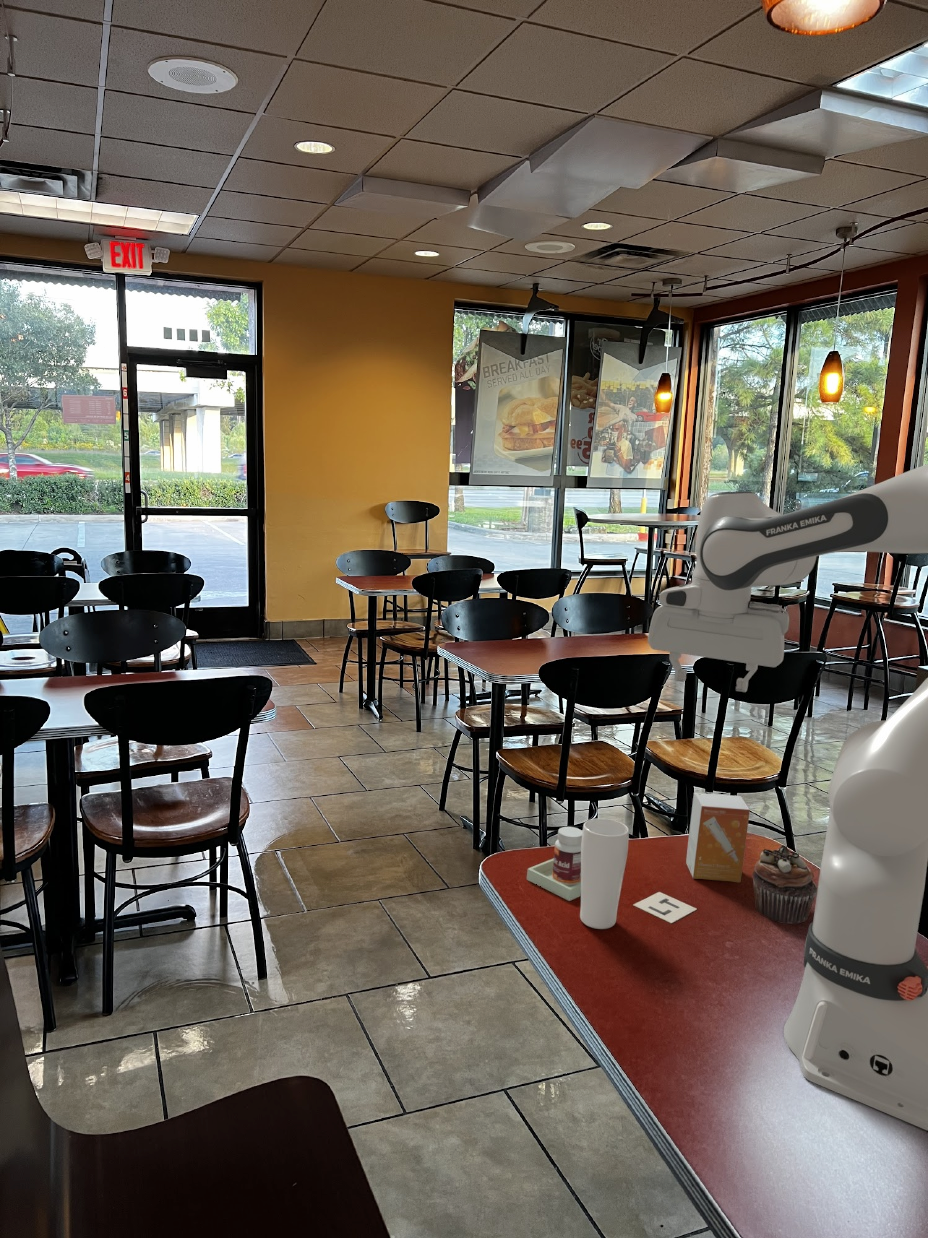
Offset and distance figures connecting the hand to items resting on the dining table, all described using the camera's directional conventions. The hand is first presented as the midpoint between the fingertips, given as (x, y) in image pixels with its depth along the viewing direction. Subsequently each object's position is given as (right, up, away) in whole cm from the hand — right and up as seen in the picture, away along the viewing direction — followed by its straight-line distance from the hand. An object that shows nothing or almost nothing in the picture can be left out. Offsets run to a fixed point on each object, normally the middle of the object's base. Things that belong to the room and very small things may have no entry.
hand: (710, 685), depth 142 cm
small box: (+4, -33, +13) cm, 35 cm away
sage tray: (-22, -32, +6) cm, 39 cm away
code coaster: (-7, -34, 0) cm, 35 cm away
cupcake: (+11, -35, +1) cm, 37 cm away
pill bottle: (-22, -32, +6) cm, 39 cm away
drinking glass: (-18, -35, -6) cm, 40 cm away
